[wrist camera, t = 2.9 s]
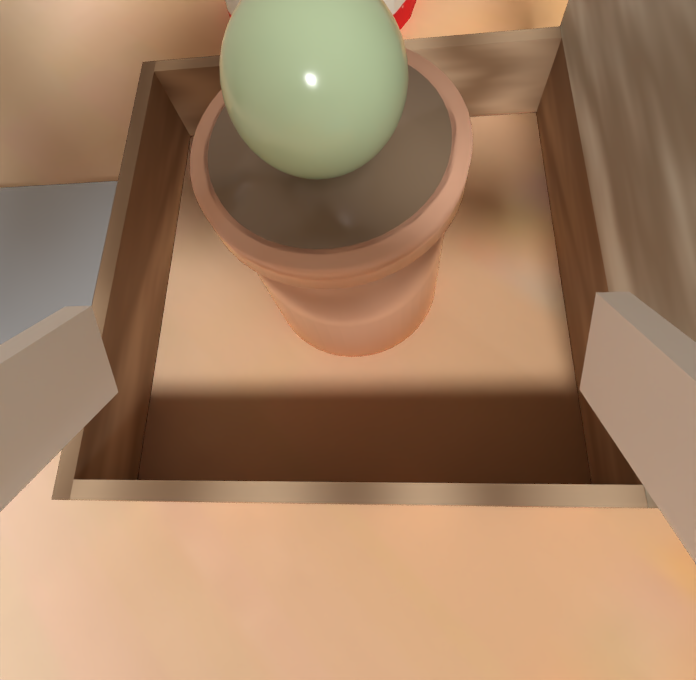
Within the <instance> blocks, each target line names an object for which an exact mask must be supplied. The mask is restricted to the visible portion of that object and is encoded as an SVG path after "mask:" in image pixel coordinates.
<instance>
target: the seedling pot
mask: <svg viewBox="0 0 696 680" xmlns="http://www.w3.org/2000/svg"><path fill="white" fill-rule="evenodd" d="M219 67H220V85H221V90H220V91H219V93H218V94H217V95H216V96H215V98H214V99H213V100H212V101H211V103H210V104H209V106H208V107H207V109H206V111H205V112H204V114H203V115H202V118H201V120H200V122H199V124H198V126H197V129H196V132H195V135H194V138H193V142H192V146H191V153H190V177H191V182H192V188H193V191H194V194H195V197H196V200H197V202H198V204H199V206H200V208H201V210H202V211H203V213H204V215H205V217H206V218H207V220H208V221H209V223H210V224H211V226H212V227H213V229H214V230H215V232H216V233H217V235H218V236H219V238H220V239H221V240H222V242H223V243H224V244H225V245H226V247H227V248H228V249H229V251H230V252H231V253H233V254H234V255H235V256H236V257H237V258H238V259H239V260H240V261H241V262H242V263H244V264H245V265H247V266H248V267H249V268H251V269H252V270H254V271H256V272H257V273H258V275H259V277H260V278H261V280H262V282H263V283H264V285H265V286H266V288H267V290H268V291H269V293H270V295H271V296H272V298H273V300H274V301H275V303H276V304H277V306H278V308H279V309H280V311H281V313H282V314H283V316H284V317H285V319H286V321H287V322H288V324H289V325H290V327H291V328H292V329H293V330H294V332H295V333H296V334H297V335H298V336H299V337H300V338H301V339H303V340H304V341H306V342H307V343H308V344H310V345H311V346H313V347H315V348H317V349H319V350H322V351H324V352H327V353H330V354H334V355H339V356H348V357H356V356H366V355H372V354H376V353H379V352H383V351H385V350H387V349H390V348H392V347H394V346H396V345H397V344H399V343H401V342H402V341H404V340H405V339H406V338H407V337H409V336H410V335H411V334H412V333H413V332H414V331H415V330H416V329H417V328H418V327H419V325H420V324H421V323H422V322H423V320H424V319H425V317H426V315H427V313H428V312H429V309H430V307H431V304H432V302H433V297H434V293H435V287H436V281H437V275H438V268H439V262H440V256H441V250H442V243H443V237H444V232H445V231H446V230H447V228H448V227H449V225H450V224H451V222H452V220H453V219H454V217H455V215H456V213H457V211H458V209H459V206H460V204H461V201H462V199H463V195H464V190H465V186H466V182H467V177H468V172H469V167H470V162H471V157H472V146H473V134H472V124H471V120H470V117H469V113H468V109H467V107H466V105H465V103H464V100H463V98H462V96H461V94H460V93H459V91H458V90H457V88H456V87H455V85H454V84H453V83H452V81H451V80H450V79H449V78H448V77H447V76H446V75H445V74H444V73H443V72H442V71H441V70H440V69H439V68H438V67H436V66H435V65H434V64H433V63H432V62H430V61H429V60H427V59H425V58H424V57H422V56H421V55H419V54H417V53H415V52H413V51H411V50H409V49H407V48H405V44H404V40H403V37H402V34H401V32H400V29H399V27H398V24H397V22H396V20H395V18H394V16H393V15H392V13H391V11H390V10H389V8H388V6H387V5H386V3H385V2H384V1H383V0H241V1H240V2H239V3H238V5H237V6H236V8H235V10H234V12H233V14H232V16H231V18H230V20H229V22H228V24H227V27H226V30H225V34H224V37H223V40H222V45H221V53H220V61H219Z"/></svg>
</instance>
